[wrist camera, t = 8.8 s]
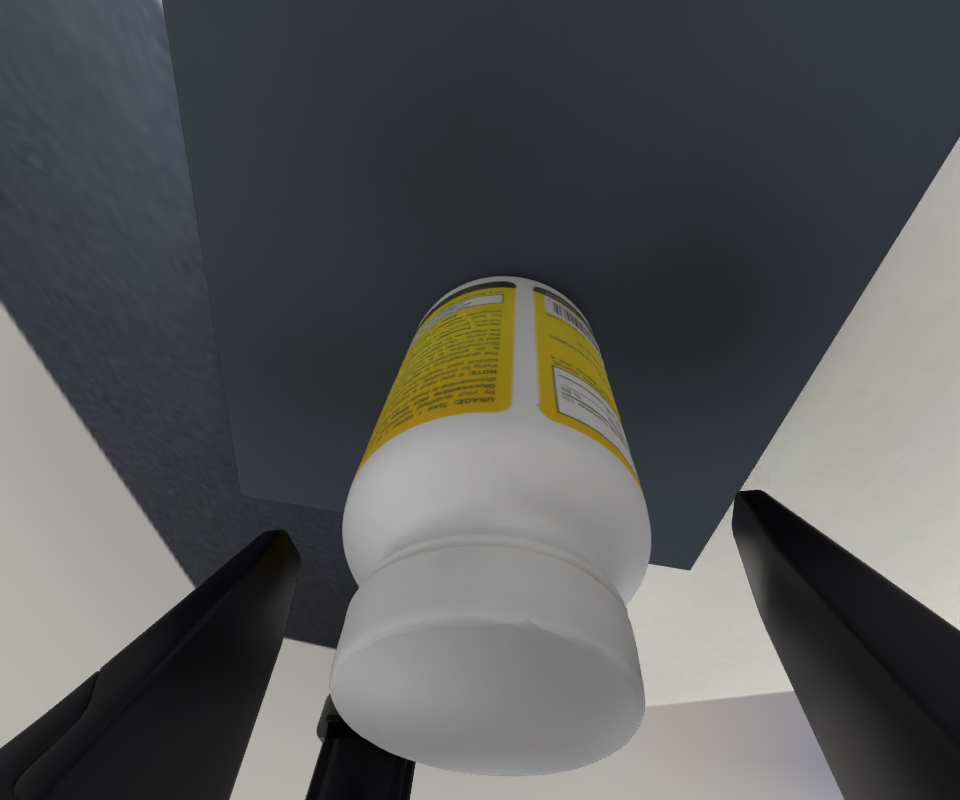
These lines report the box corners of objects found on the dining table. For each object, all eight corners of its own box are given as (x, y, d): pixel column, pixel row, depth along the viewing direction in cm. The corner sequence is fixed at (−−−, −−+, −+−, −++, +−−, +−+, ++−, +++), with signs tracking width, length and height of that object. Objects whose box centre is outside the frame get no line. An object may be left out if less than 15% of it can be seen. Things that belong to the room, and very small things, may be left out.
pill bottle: (406, 417, 18) (282, 767, 9) (423, 252, 15) (249, 538, 5) (569, 446, 18) (618, 820, 9) (623, 291, 15) (794, 631, 5)
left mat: (246, 487, 21) (240, 495, 21) (145, -183, 10) (130, -194, 10) (687, 562, 22) (690, 571, 21) (1032, -7, 11) (1052, -10, 10)
